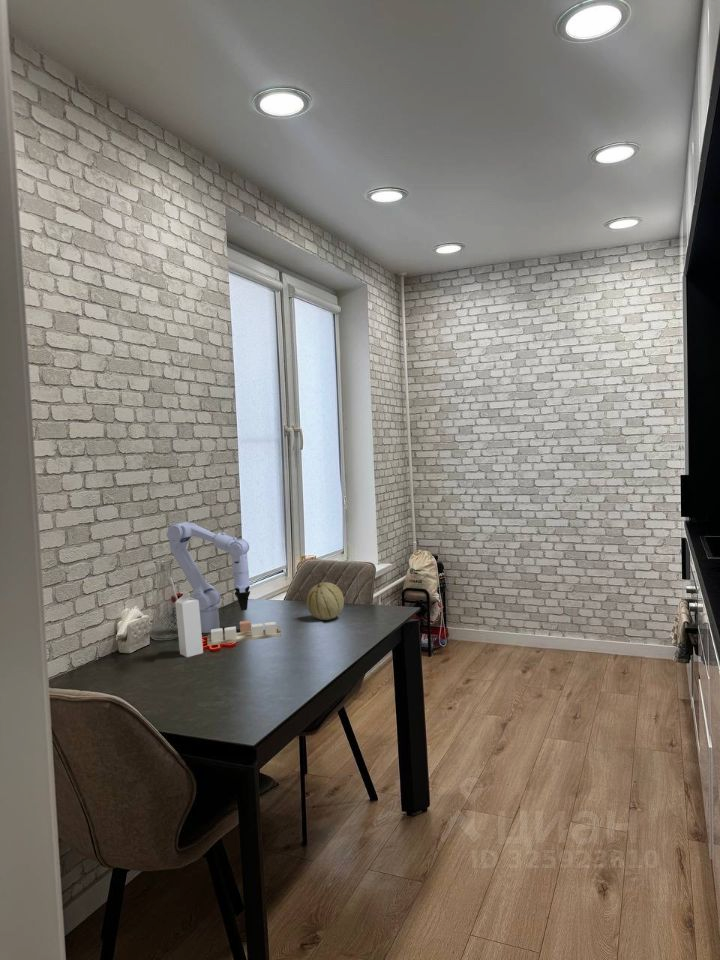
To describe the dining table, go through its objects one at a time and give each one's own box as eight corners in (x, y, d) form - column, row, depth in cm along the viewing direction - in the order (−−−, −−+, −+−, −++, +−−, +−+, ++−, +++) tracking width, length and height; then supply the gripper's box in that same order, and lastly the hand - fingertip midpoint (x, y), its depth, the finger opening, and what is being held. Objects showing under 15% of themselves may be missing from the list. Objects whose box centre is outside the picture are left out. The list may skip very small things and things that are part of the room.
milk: (186, 659, 226) (180, 594, 224) (180, 656, 230) (173, 592, 229) (203, 655, 229) (197, 591, 228) (196, 651, 234) (190, 589, 233)
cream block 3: (252, 638, 243) (251, 627, 243) (252, 635, 247) (251, 624, 246) (263, 636, 243) (262, 625, 243) (263, 633, 247) (262, 623, 247)
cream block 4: (265, 636, 244) (264, 625, 243) (265, 633, 248) (264, 622, 247) (276, 635, 244) (276, 624, 244) (276, 632, 248) (275, 621, 248)
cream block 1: (211, 643, 240) (210, 632, 240) (212, 640, 244) (211, 629, 244) (223, 641, 241) (222, 630, 241) (223, 638, 245) (222, 628, 245)
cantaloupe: (349, 614, 270) (346, 577, 269) (339, 624, 256) (336, 585, 255) (314, 614, 274) (311, 578, 273) (302, 624, 259) (299, 586, 259)
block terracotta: (240, 634, 252) (239, 624, 252) (240, 631, 256) (239, 621, 256) (251, 633, 253) (250, 622, 253) (251, 630, 257) (250, 620, 257)
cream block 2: (225, 641, 241) (224, 630, 241) (225, 638, 245) (224, 627, 245) (236, 640, 242) (235, 629, 242) (236, 637, 246) (235, 626, 245)
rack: (207, 647, 238) (207, 640, 238) (208, 641, 246) (208, 634, 246) (281, 638, 242) (280, 631, 242) (279, 632, 251) (279, 625, 251)
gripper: (252, 574, 247) (255, 610, 248) (251, 568, 261) (254, 602, 262) (232, 576, 246) (235, 613, 246) (232, 569, 260) (235, 604, 261)
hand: (243, 607), depth 254 cm, fingers open, 7 cm apart
